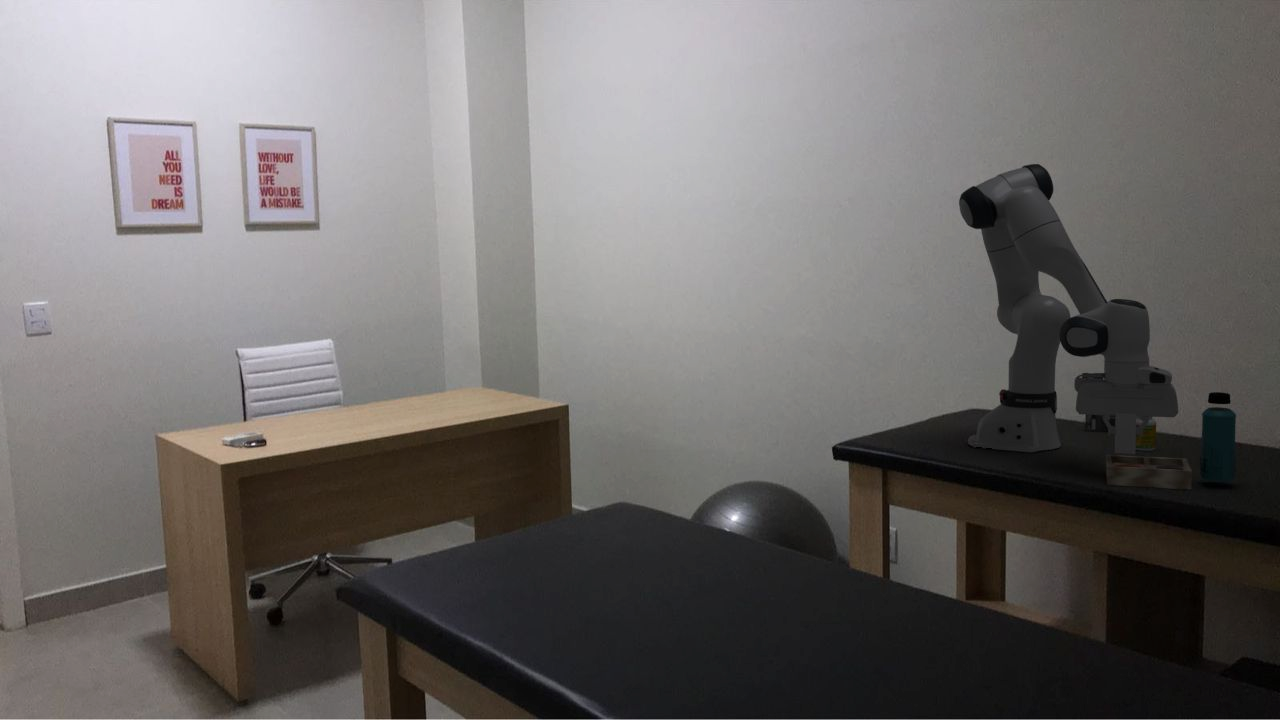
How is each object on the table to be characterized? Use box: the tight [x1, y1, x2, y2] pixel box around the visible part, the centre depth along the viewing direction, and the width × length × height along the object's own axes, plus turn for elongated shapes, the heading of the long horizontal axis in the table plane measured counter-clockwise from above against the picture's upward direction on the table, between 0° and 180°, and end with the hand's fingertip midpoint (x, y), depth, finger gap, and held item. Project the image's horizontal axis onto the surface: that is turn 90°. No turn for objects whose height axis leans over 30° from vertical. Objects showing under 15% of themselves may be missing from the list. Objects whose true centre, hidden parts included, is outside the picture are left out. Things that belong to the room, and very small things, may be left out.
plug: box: [1114, 413, 1137, 455], centre depth 217 cm, size 4×4×9 cm
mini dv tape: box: [1084, 415, 1115, 434], centre depth 267 cm, size 8×2×6 cm, turn 61°
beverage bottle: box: [1199, 391, 1237, 483], centre depth 209 cm, size 6×7×20 cm
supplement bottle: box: [1136, 416, 1157, 452], centre depth 245 cm, size 5×5×10 cm
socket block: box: [1105, 454, 1193, 491], centre depth 216 cm, size 16×12×4 cm
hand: (1125, 435), depth 217 cm, fingers closed on plug, 4 cm apart
